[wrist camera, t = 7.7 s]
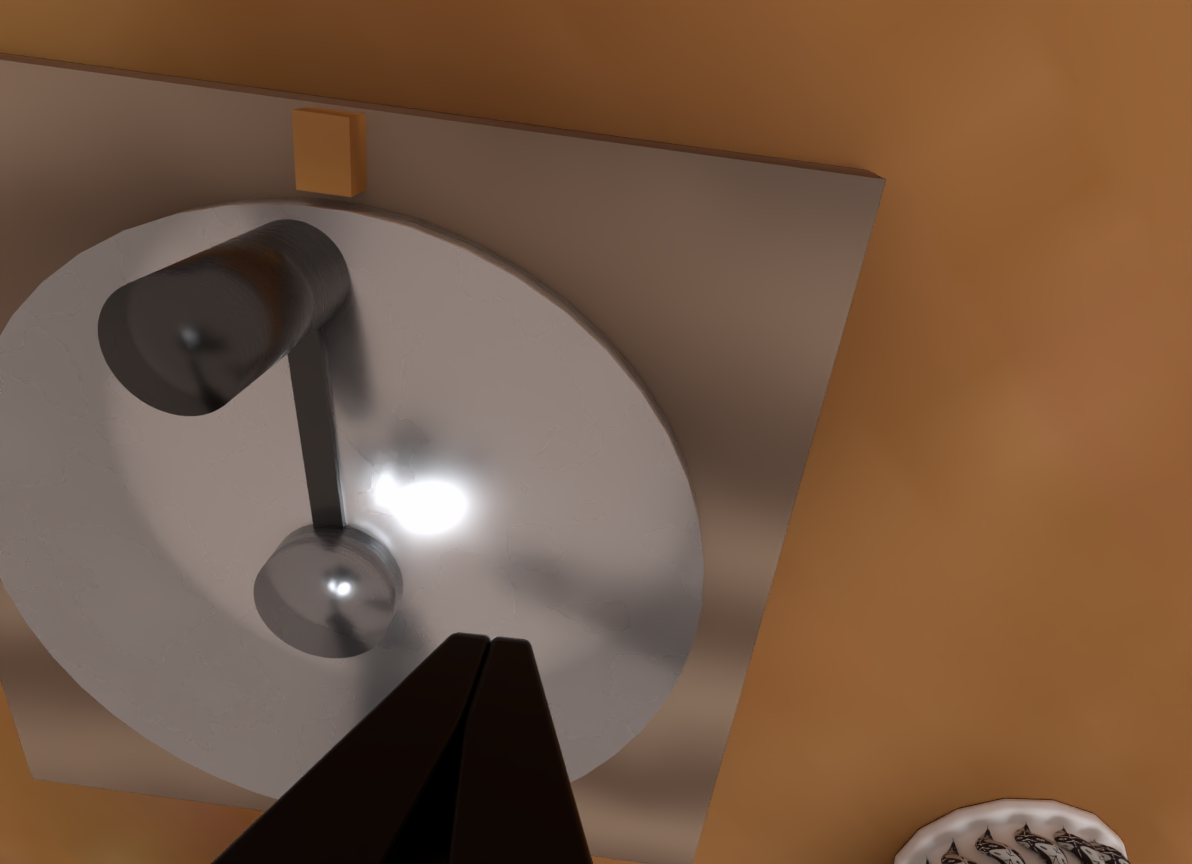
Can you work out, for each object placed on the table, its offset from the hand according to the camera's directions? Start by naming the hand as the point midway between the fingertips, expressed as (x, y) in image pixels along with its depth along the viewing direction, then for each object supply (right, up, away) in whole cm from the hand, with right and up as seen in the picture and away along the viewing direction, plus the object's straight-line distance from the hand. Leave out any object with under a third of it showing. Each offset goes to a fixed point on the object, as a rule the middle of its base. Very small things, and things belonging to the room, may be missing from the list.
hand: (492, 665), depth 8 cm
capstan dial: (-6, -1, +13) cm, 15 cm away
